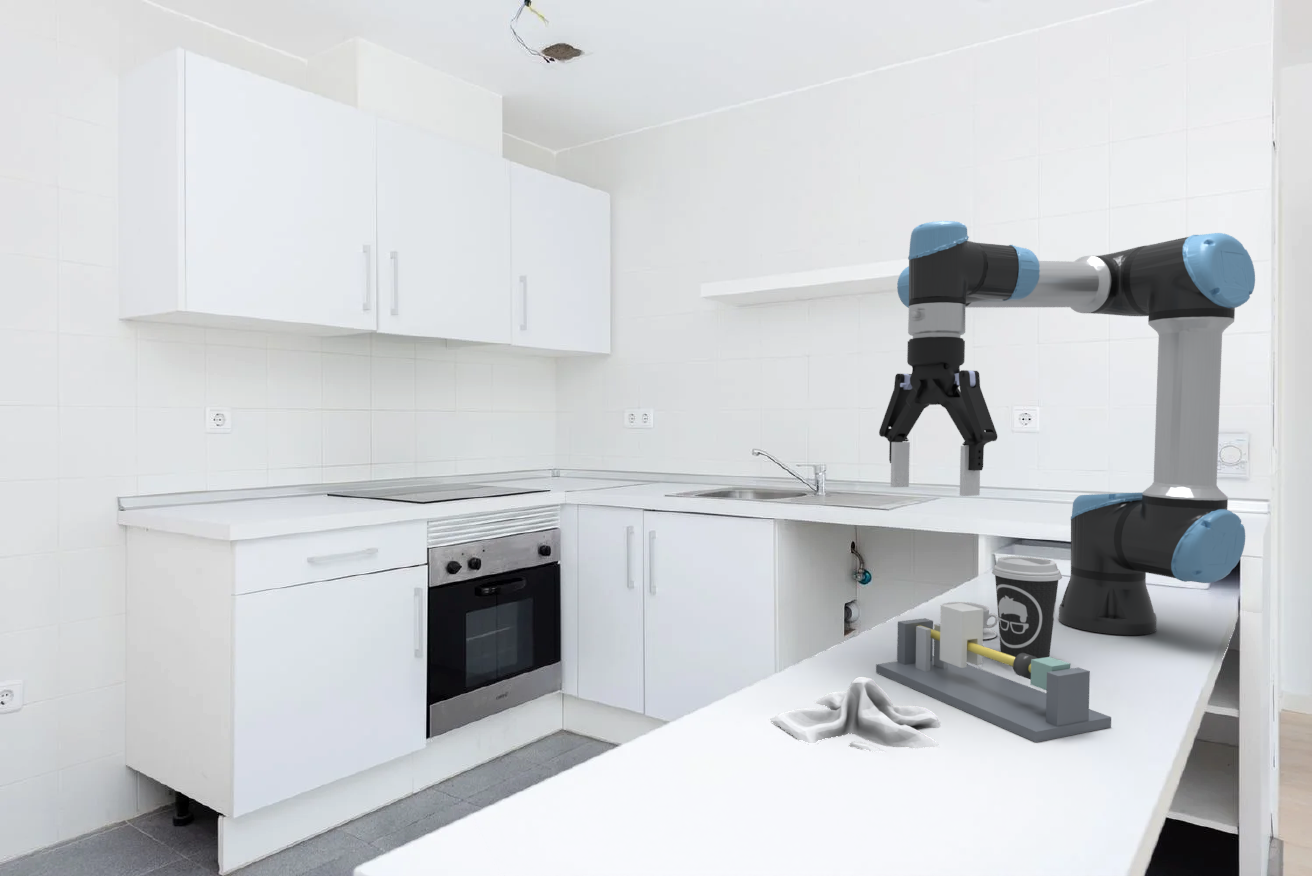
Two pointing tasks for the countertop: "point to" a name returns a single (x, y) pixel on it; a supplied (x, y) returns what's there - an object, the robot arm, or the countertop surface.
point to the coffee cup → (1026, 604)
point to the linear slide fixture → (997, 686)
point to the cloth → (861, 719)
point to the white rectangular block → (960, 633)
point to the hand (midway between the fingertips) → (932, 491)
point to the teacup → (986, 632)
